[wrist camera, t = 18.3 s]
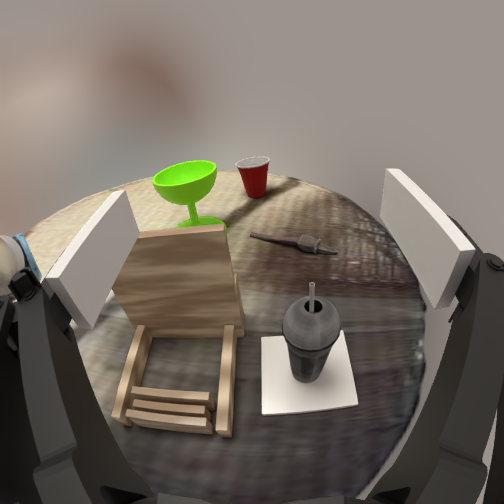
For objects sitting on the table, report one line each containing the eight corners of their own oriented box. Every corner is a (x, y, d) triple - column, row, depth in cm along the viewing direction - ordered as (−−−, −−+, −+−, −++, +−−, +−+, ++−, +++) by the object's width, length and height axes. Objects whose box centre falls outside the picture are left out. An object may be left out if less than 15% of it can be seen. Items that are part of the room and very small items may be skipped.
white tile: (357, 405, 34) (358, 403, 34) (262, 415, 35) (262, 414, 35) (342, 332, 45) (342, 330, 45) (261, 339, 46) (261, 337, 46)
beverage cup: (335, 358, 40) (357, 262, 28) (319, 397, 36) (341, 312, 23) (293, 345, 44) (295, 247, 31) (274, 381, 39) (267, 291, 27)
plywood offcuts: (213, 434, 33) (205, 425, 30) (138, 425, 34) (125, 415, 31) (215, 403, 37) (208, 392, 34) (144, 397, 38) (132, 385, 35)
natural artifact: (335, 262, 62) (334, 257, 59) (250, 237, 72) (244, 232, 68) (340, 247, 63) (339, 241, 59) (255, 224, 72) (250, 218, 69)
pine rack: (240, 437, 32) (202, 367, 19) (117, 423, 34) (27, 346, 20) (245, 313, 51) (227, 208, 38) (147, 315, 53) (104, 222, 39)
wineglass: (239, 231, 73) (229, 167, 63) (187, 260, 66) (168, 192, 55) (206, 212, 84) (195, 157, 73) (160, 235, 76) (143, 177, 65)
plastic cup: (252, 185, 96) (248, 153, 89) (278, 191, 91) (276, 157, 83) (232, 198, 90) (227, 163, 82) (260, 204, 84) (256, 168, 77)
